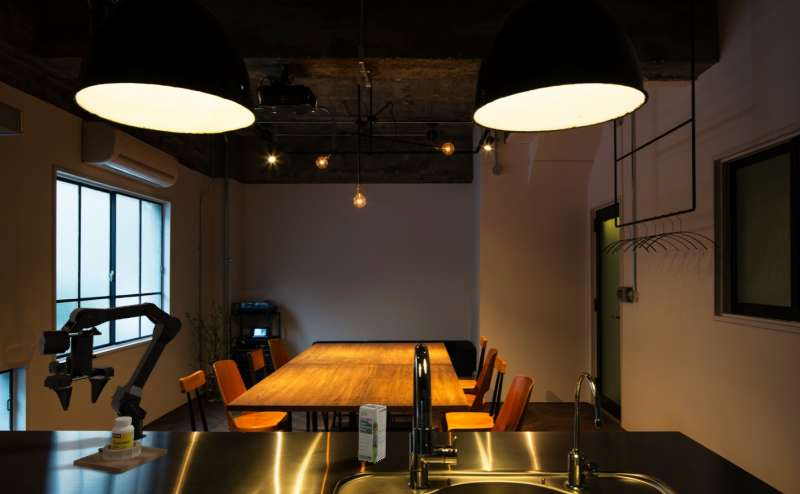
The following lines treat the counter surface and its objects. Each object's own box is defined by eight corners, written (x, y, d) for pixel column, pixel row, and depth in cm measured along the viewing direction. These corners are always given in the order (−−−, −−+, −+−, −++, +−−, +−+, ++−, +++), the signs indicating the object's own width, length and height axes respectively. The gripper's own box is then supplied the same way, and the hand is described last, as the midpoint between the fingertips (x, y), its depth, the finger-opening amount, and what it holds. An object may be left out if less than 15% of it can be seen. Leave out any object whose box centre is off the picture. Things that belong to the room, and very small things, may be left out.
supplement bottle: (108, 459, 146) (109, 421, 146) (113, 452, 151) (114, 416, 151) (130, 457, 147) (132, 420, 147) (134, 450, 152) (136, 415, 153)
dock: (121, 447, 159) (122, 434, 159) (166, 453, 154) (167, 440, 154) (72, 465, 144) (73, 451, 144) (120, 473, 139) (121, 458, 139)
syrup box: (357, 460, 151) (358, 406, 151) (368, 454, 156) (369, 402, 156) (375, 464, 148) (376, 409, 148) (386, 457, 153) (387, 405, 154)
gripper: (88, 346, 169) (86, 397, 168) (30, 354, 151) (27, 412, 151) (116, 348, 165) (114, 400, 165) (60, 357, 148) (58, 416, 147)
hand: (79, 406), depth 157 cm, fingers open, 9 cm apart
